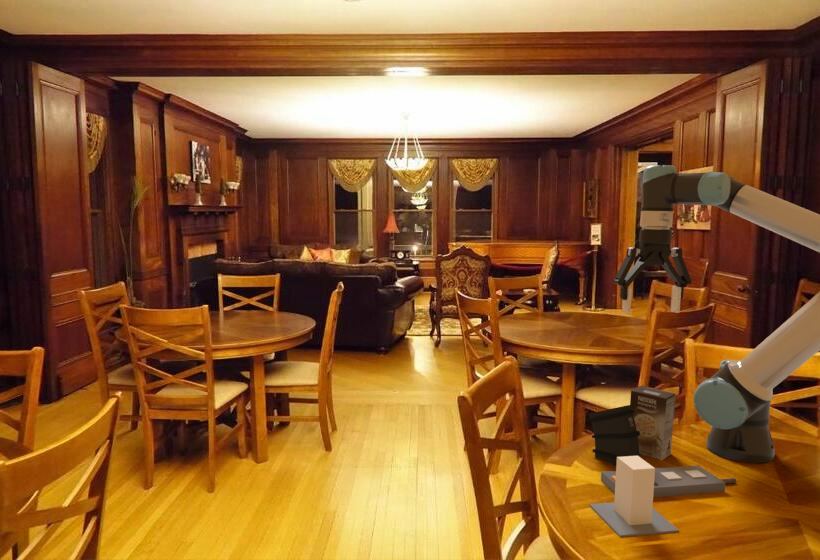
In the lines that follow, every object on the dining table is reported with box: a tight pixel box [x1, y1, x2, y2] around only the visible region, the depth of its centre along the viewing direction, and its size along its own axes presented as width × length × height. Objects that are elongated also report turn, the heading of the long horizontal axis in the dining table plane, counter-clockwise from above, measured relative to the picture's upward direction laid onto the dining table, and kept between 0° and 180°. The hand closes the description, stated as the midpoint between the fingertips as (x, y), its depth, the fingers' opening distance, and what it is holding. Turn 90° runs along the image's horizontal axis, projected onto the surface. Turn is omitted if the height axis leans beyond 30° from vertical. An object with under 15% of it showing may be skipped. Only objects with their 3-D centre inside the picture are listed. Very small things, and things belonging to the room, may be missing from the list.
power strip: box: [600, 464, 737, 498], centre depth 133 cm, size 30×9×3 cm, turn 100°
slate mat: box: [589, 501, 680, 538], centre depth 118 cm, size 12×12×1 cm
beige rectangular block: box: [613, 455, 656, 525], centre depth 118 cm, size 4×6×11 cm
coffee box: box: [629, 385, 676, 461], centre depth 151 cm, size 9×6×16 cm
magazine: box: [587, 404, 643, 467], centre depth 145 cm, size 4×13×15 cm, turn 32°
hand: (650, 312), depth 154 cm, fingers open, 13 cm apart
